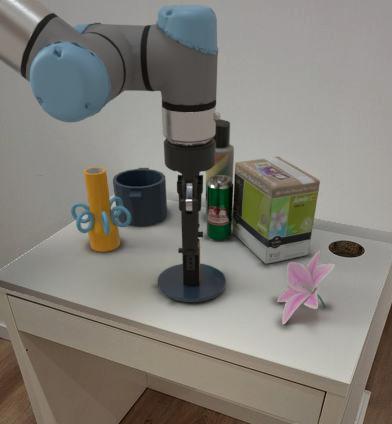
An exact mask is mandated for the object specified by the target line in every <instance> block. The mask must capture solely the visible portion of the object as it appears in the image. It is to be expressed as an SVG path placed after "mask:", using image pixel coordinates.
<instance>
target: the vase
mask: <svg viewBox="0 0 392 424" xmlns="http://www.w3.org/2000/svg"><path fill="white" fill-rule="evenodd" d="M107 175H108V174H107V169H106V168H105V167H102V166H91V167H87V168H85V169H84V170H83V176H84V183H85V191H86V196H87V203H88V205H87V204H86V203H84V202H80V201H79V202H75V203H74V204H73V205H72V206H71V208H70V213H71V216H72V217H73V219H74V220H75V225H76V228H77V231H79V232H80V233H81V234H88V239H89V240H88V241H89V246H90V248H91V249H92V250H93V251H96V252H102V253H105V252H111V251H114V250H116V249H117V248H119V247H120V245H121V237H120V231H119V228H125V227H128V226H130V225H129V224H130V222H131V214H130V212H129V211H128V210H127V209H126V208H125V207H123V201H122V200H121V198H119V197H115V196H112V197H111V198H110V192H109V184H108V176H107ZM115 201H118V202H119V206H116V205H115V206H112V205H113V204H114V203H115ZM78 207H79V208H80V207H81V208H83V209H85V210H82V211H81V212H80V213H79V214H78V215H77V213H76V210H77V208H78ZM117 210H118V212H117ZM122 211H123V212H124V213H125V214H126V215H127V221H126V222H125V223H122V222H120V221H119V220H117V219H118V217H119V216H120V215H121V213H122ZM115 212H116V213H115ZM84 216H87V218H83V217H84ZM81 224H87V227H85V228H82V225H81Z"/></svg>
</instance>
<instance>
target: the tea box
mask: <svg viewBox="0 0 392 424" xmlns="http://www.w3.org/2000/svg"><path fill="white" fill-rule="evenodd" d="M233 182H234V183H233V206H232V229H231V233H232V234H234V236H236V237H237V238H238V240H240V241H241V242H242V243H243V244H244V245H245V246H246V247H247V248H248V249H249V250H250V251H251V252H253V253H254V255H256V256H257V257H258V258H259V259H260V260H261V261H262V262H263V263H264V264H271V263H277V262H282V261H287V260H292V259H295V258H300V257H305V256H308V254H309V252H310V247H311V241H312V233H313V228H314V221H315V215H316V210H317V204H318V203H317V202H318V197H319V191H320V183H321V180H319V178H317V177H315V176H313V175H311V174H310V173H308V172H306V171H304V170H303V169H301V168H299V167H298V166H296V165H294V164H292V163H291V162H289V161H287V160H285V159H283V158H282V157H280V156H272V157H271V156H270V157H265V158H258V159H250V160H243V161H237V162H235V163H234V175H233Z"/></svg>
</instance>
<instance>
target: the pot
mask: <svg viewBox="0 0 392 424" xmlns="http://www.w3.org/2000/svg"><path fill="white" fill-rule="evenodd" d="M166 181H167V180H166V175H165V174H164V173H163V172H161V171H159V170H156V169H150V167H138V168H133V169H127V170H124V171H121V172H118V173H117V174H115V175H114V176H113V178H112V186H113V193H114V194H113V195H114V197H119V198H121V200H122V201H123V207H125V208H126V209H127V210H128V211H129V212H130V214H131V222H130V224H129V225H128V226H130V227H140V228H141V227H150V226H154V225H157V224H160V223H162V222H163V221H165V220H166V219H167V217H168V204H167V203H168V202H167V201H168V200H167V182H166ZM114 203H115V206H119V202H118V201H114ZM117 212H118V210H117V211H116V213H117ZM117 221H118V222H120V223H125V222H126V221H127V215H126V214H125V213H124V212H123V211H122V213H121V215H120V216H119V217H117Z"/></svg>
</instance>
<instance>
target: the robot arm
mask: <svg viewBox="0 0 392 424" xmlns="http://www.w3.org/2000/svg"><path fill="white" fill-rule="evenodd" d="M217 22H218V21H217V15H216V12H215V11H214V10H213V8H211V7H209V6H207V5H199V4H198V5H197V4H182V5H180V4H179V5H176V4H175V5H165V6H162V7H160V8H159V10H158V12H157V20H156V21H155V23H153V24H146V25H137V24H109V23H101V22H93V23H87V24H86V23H85V24H76V25H73V26H72V25H70V24H69V23H68V22H67V21H65V20H64V19H63V18H61V17H60V16H59V15H57V14H56V13H55V12H54V11H53V10H51V9H50V8H49V7H47V6H46V5H45V4H44V3H43V2H41V1H40V0H0V62H1V63H2V64H5V66H7V67H8V68H10V69H11V70H12V71H14V72H15V73H16V74H18V76H21V77H22V78H24V79H25V80H26V81H28V82H29V85H30V88H31V92H32V94H33V96H34V98H35V99H36V101H37V103H38V104H39V106H40V107H41V109H42V110H43V111H44V112H45V113H46V114H47V115H49V116H50V117H52V118H53V119H55V120H57V121H60V122H64V123H78V122H81V121H83V120H85V119H88V118H91V117H93V116H95V115H97V114H99V113H100V112H101V111H102V109H103V108H105V107H106V105H108V104H109V103H110V102H111V101H113V100H114V99H115V98H117V97H118V96H120V95H121V94H123V92H126V91H128V92H130V91H131V92H133V91H134V92H135V91H137V92H138V91H139V92H160V95H161V124H162V136H163V137H164V138H165V139H164V141H163V159H164V165H165V167H166V168H167V169H168V170H170V171H172V172H176V173H177V172H178V173H179V174H177V181H176V193H177V194H178V210H179V211H180V215H181V216H180V217H181V218H180V220H181V222H180V223H181V247H178V250H177V252H178V254H181V255H182V254H183V258H182V264H183V285H193V286H199V248H198V242H199V243H200V242H201V241H200V238H204V231H200V225H201V224H200V211H201V210H202V200H203V199H202V197H203V193H204V174H200V173H201V172H206V171H207V170H209V169H211V168H212V167H213V166H214V165H215V151H216V141H215V140H214V138H213V137H214V135H215V128H216V123H215V120H219V119H221V113H220V112H218V111H217V112H216V110H217V92H218V91H217V87H218V86H217V85H218V58H219V56H218V55H219V47H218V23H217ZM200 244H201V243H200Z"/></svg>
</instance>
